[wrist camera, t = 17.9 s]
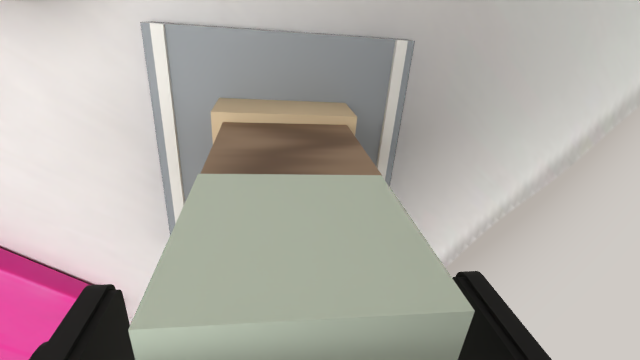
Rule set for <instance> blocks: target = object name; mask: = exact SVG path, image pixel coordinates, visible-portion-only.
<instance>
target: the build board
mask: <svg viewBox="0 0 640 360" xmlns="http://www.w3.org/2000/svg"><path fill="white" fill-rule="evenodd" d="M140 23H141V30H142V37H143V44H144V52H145V59H146V66H147V73H148V80H149V87H150V94H151V101H152V109H153V116H154V123H155V130H156V137H157V144H158V151H159V158H160V166H161V173H162V180H163V187H164V194H165V201H166V208H167V216H168V223H169V230H170V235H171V233H172V231H173V229H174V226H175V224H176V222H177V220H178V218H179V215H180V213H181V211H182V209H183V206H184V204H185V202H186V200H187V197H188V195H189V193H190V191H191V188H192V186H193V184H194V182H195V180H196V177H197V175H198V174H200V173H201V171H202V169H203V167H204V164H205V162H206V160H207V157H208V155H209V153H210V150H211V148H212V146H213V144H214V141H215V139H216V137H217V134H218V132H219V130H220V127H221V125H222V123H223V122H244V123H286V124H329V125H347V126H348V127H349V128H350V130H351V131H352V133H353V134H354V136H355V137H356V139H357V140H358V141H359V143H360V144H361V146H362V147H363V149H364V150H365V151H366V153H367V154H368V156H369V157H370V159H371V160H372V162H373V163H374V164H375V166H376V167H377V169H378V170H379V172H380V173H381V174H382V177H383V179H384V180H385V181H386V183H387V184H388V186H390V181H391V175H392V169H393V163H394V158H395V152H396V146H397V140H398V135H399V129H400V123H401V117H402V112H403V106H404V100H405V95H406V89H407V83H408V77H409V72H410V66H411V60H412V54H413V49H414V43H415V41H411V40H403V39H389V38H375V37H361V36H346V35H332V34H318V33H303V32H289V31H275V30H260V29H246V28H232V27H217V26H203V25H189V24H174V23H160V22H140Z"/></svg>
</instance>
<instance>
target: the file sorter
mask: <svg viewBox="0 0 640 360" xmlns="http://www.w3.org/2000/svg"><path fill="white" fill-rule="evenodd" d="M88 285H90V284H87V283H85V282H82V281H80V280H77V279H75V278H72V277H70V276H67V275H65V274H63V273H60V272H58V271H55V270H53V269H50V268H48V267H45V266H43V265H40V264H38V263H36V262H33V261H31V260H28V259H26V258H23V257H21V256H19V255H16V254H14V253H11V252H9V251H6V250H4V249H2V248H0V360H29V359H30V357H31V356H32V354H33V353H34V351H35V350H36V349H37V348H38V347H39V346H40V345H41V344H43V343H44V342H47V341H49V339H50V338H51V336H52V335H53V333H54V332H55V330H56V329H57V327H58V326H59V325H60V323H61V322H62V320H63V319H64V317H65V316H66V314H67V313H68V311H69V310H70V308H71V307H72V305H73V304H74V302H75V301H76V299H77V298H78V296H79V295H80V293H81V292H82V291H83V289H84V288H85V287H86V286H88Z"/></svg>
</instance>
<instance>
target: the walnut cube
mask: <svg viewBox="0 0 640 360" xmlns="http://www.w3.org/2000/svg"><path fill="white" fill-rule="evenodd" d="M200 174H295V175H381V176H382V174H381V173H380V172H379V170H378V169H377V167H376V166H375V164H374V163H373V162H372V160H371V159H370V157H369V156H368V154H367V153H366V151H365V150H364V149H363V147H362V146H361V144H360V143H359V141H358V140H357V139H356V137H355V136H354V134H353V133H352V131H351V130H350V128H349V127H348V126H347V125H329V124H286V123H244V122H223V123H222V125H221V127H220V130H219V132H218V134H217V137H216V139H215V141H214V144H213V146H212V148H211V150H210V153H209V155H208V157H207V160H206V162H205V164H204V167H203V169H202V171H201V173H200Z"/></svg>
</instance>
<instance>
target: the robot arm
mask: <svg viewBox="0 0 640 360" xmlns="http://www.w3.org/2000/svg"><path fill="white" fill-rule="evenodd" d="M452 279H453V280H454V282H455V283H456V284H457V286H458V287H459V289H460V290H461V292H462V293H463V295H464V296H465V297H466V299H467V300H468V302H469V303H470V305H471V306H472V308H473V309H474V310H475V312H474V315H473V318H472V321H471V323H470V326H469V329H468V332H467V335H466V337H465V340H464V343H463V346H462V349H461V352H460V354H459V357H458V360H551V358H550V357H549V356H548V355H547V353H546V352H545V351H544V350H543V349H542V348H541V346H540V345H539V344H538V342H537V341H536V340H535V339H534V337H533V336H532V335H531V334H530V333H529V332H528V330H527V329H526V328H525V326H524V325H523V324H522V323H521V322H520V321H519V319H518V318H517V317H516V315H515V314H514V313H513V312H512V310H511V309H510V308H509V307H508V306H507V304H506V303H505V302H504V301H503V299H502V298H501V297H500V296H499V295H498V293H497V292H496V291H495V290H494V288H493V287H492V286H491V285H490V284H489V282H488V281H487V280H486V279H485V277H484V276H483V275H482V274H481V273H480V272H478V271H471V272H459V273H457V275H456V277H453V278H452ZM129 327H130V324H129V320H128V316H127V311H126V307H125V303H124V298H123V294H122V291H121V290H116V289H115V287H114V285H111V284H108V285H88V286H86V287H85V288H84V289H83V291H82V292H81V293H80V295H79V296H78V298H77V299H76V301H75V302H74V304H73V305H72V307H71V308H70V310H69V311H68V313H67V314H66V316H65V317H64V319H63V320H62V322H61V323H60V325H59V326H58V327H57V329H56V330H55V332H54V333H53V335H52V336H51V338H50V339H49V341H47V342H44V343H43V344H41V345H40V346H39V347H38V348H37V349H36V350H35V351H34V353H33V354H32V356H31V357H30V359H29V360H135V357H134V353H133V349H132V344H131V340H130V336H129V332H128V329H129Z"/></svg>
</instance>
